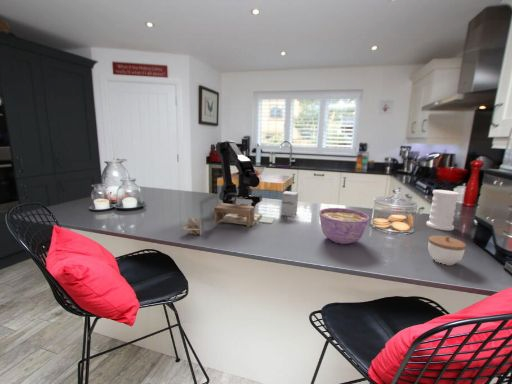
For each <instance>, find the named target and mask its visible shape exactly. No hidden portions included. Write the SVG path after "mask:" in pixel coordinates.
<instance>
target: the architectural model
mask: <svg viewBox="0 0 512 384" xmlns="http://www.w3.org/2000/svg"><path fill="white" fill-rule="evenodd" d="M187 220H188V221H187V222H188V223H187V225H185V226H184V227H183V228H182V230H187V231H188V234H194V235H195V236H197V235H199V236H202V219H201V218H196V217H188V219H187Z"/></svg>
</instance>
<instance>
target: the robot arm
mask: <svg viewBox="0 0 512 384" xmlns="http://www.w3.org/2000/svg"><path fill="white" fill-rule="evenodd" d="M215 150H216V155H217V156H218V157H219V158H220V165H221V173H222V179H223V183H222V186H221V191H220V193H219V195H218V198H219V200H220V201H222V203H226V204H236V205H237V199H238V200H239V199H241V200H249V201H252V202H251V204H250V206H255V207H256V205H257V204H259V203H261V202H262V201H263V196H262V195H260V194H254V195H253V188H256V187H258V186H259V185H260V178H259V177H258V176H257V173H256V169H255V168H254V165H253V163H252V160H251V159H250V158H248V157H247V156H245V155H243V153H242V152H241V150H240V149H239V148H238V146H237V144H236V142H235V141H234V140H225V141H219V142H217V143H216V144H215ZM230 155H231V157H232V158H233V159H234V161H235V165H234V166H235V168H236V170H237V172H236V175H237V176H238V179H237V181H238V183H237V184H238V185H237V184H235V183H234V182H233V179H232V171H231V164H230ZM255 207H254V209H255Z"/></svg>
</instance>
